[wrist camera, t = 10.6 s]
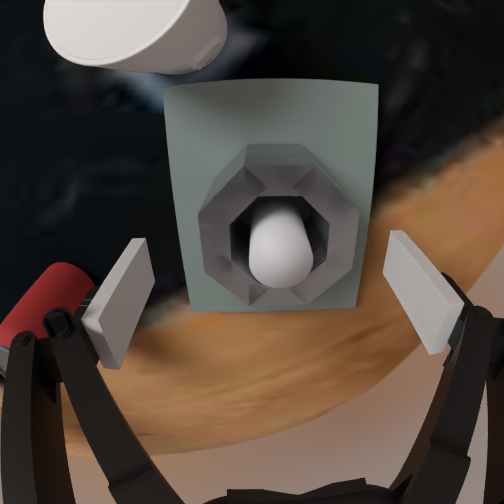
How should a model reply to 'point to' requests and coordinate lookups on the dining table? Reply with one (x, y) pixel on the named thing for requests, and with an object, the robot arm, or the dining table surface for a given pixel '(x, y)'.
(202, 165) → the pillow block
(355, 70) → the dining table surface
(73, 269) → the beer can
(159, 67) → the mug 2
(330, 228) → the ring
